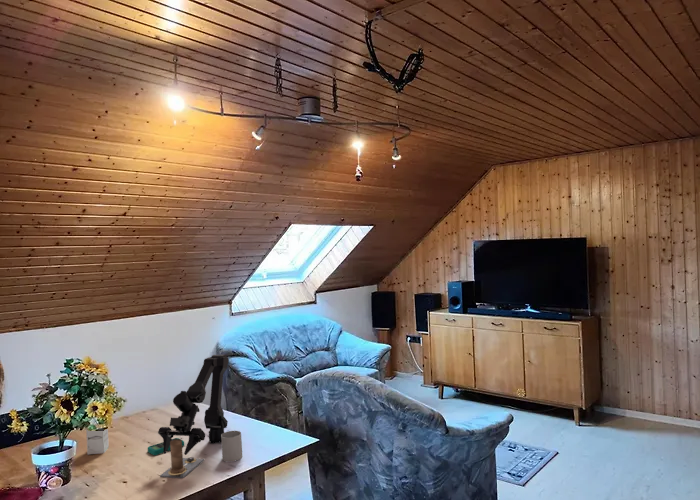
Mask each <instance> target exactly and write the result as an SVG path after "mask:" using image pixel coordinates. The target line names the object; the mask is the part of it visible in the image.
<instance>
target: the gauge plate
mask: <svg viewBox="0 0 700 500" xmlns="http://www.w3.org/2000/svg"><path fill="white" fill-rule="evenodd" d="M204 461H205V458H194V457H193V456H191V457H183V465H184V466H185V471H184V472H182V473H178V474H172V473H170V468H171V467H172V466H171V467H169V468H168V469H166V470H165V471H164V472H163V473H161V474H160V475H159V477H160V478H172V479H173V478H174V479H184V478H186V476H188V475H189V474H190V473H191V472H193V470H195V469H196V468H197V467H199V465H201V464H202V463H203V462H204Z"/></svg>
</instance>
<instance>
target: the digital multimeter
mask: <svg viewBox="0 0 700 500" xmlns="http://www.w3.org/2000/svg"><path fill="white" fill-rule="evenodd" d="M171 439H172V440H175V439H180V438H179V437H175V438H174V437H173V438H171ZM181 440H182V447H184V446H185V441H184V440H183V439H181ZM163 447H164V442H163V441H162V442H159V443H155V444H151V445H149V446H148V447H147V452H148V453H149V454H151V455H153V456H158V455H161V454H164V453H163ZM167 452H171V448H170V446H169V448H168V450H167Z"/></svg>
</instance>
